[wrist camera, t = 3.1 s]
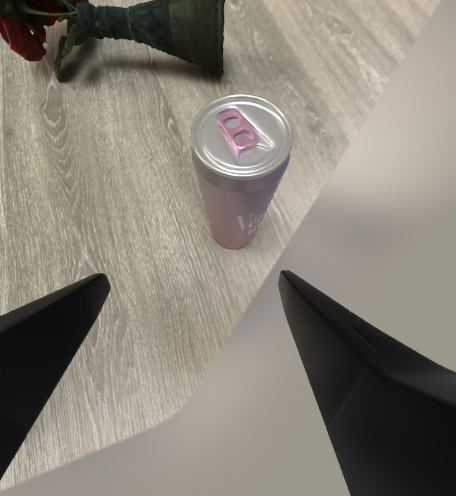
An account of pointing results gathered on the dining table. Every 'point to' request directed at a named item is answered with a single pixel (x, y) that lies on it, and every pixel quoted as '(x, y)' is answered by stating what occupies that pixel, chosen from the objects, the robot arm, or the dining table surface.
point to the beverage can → (239, 163)
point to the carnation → (119, 27)
